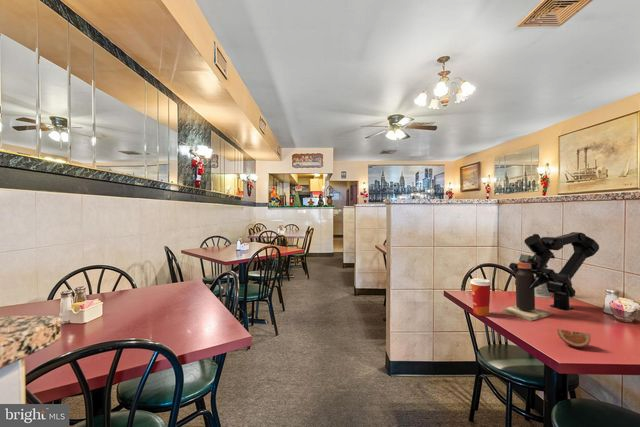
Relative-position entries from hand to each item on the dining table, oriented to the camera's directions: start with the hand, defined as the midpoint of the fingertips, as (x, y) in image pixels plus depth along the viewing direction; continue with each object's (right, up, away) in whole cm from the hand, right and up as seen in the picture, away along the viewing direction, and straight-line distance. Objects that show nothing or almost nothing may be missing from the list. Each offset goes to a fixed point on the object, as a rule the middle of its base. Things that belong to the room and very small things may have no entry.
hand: (522, 286), depth 127 cm
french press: (+30, -12, +27) cm, 42 cm away
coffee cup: (-18, -13, +1) cm, 22 cm away
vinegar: (+1, -10, +1) cm, 10 cm away
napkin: (+1, -12, 0) cm, 12 cm away
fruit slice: (-4, -13, -30) cm, 33 cm away
